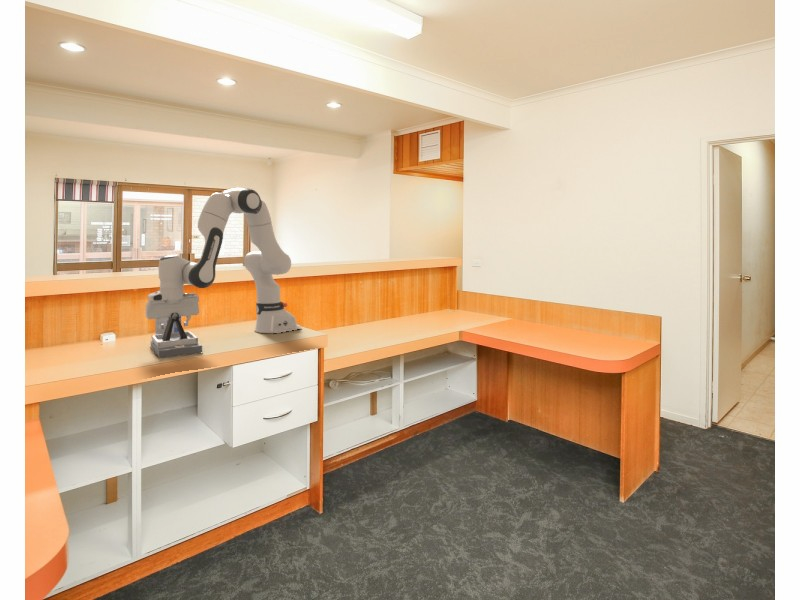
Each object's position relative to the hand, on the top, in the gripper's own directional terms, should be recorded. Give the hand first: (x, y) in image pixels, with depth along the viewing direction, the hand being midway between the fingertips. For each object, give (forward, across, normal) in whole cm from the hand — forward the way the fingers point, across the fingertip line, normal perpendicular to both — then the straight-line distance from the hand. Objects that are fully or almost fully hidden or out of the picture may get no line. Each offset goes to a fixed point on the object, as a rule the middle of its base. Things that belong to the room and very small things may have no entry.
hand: (174, 327), depth 204 cm
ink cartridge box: (+10, -1, -18) cm, 20 cm away
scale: (+9, 0, +2) cm, 10 cm away
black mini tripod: (+6, 0, 0) cm, 6 cm away
